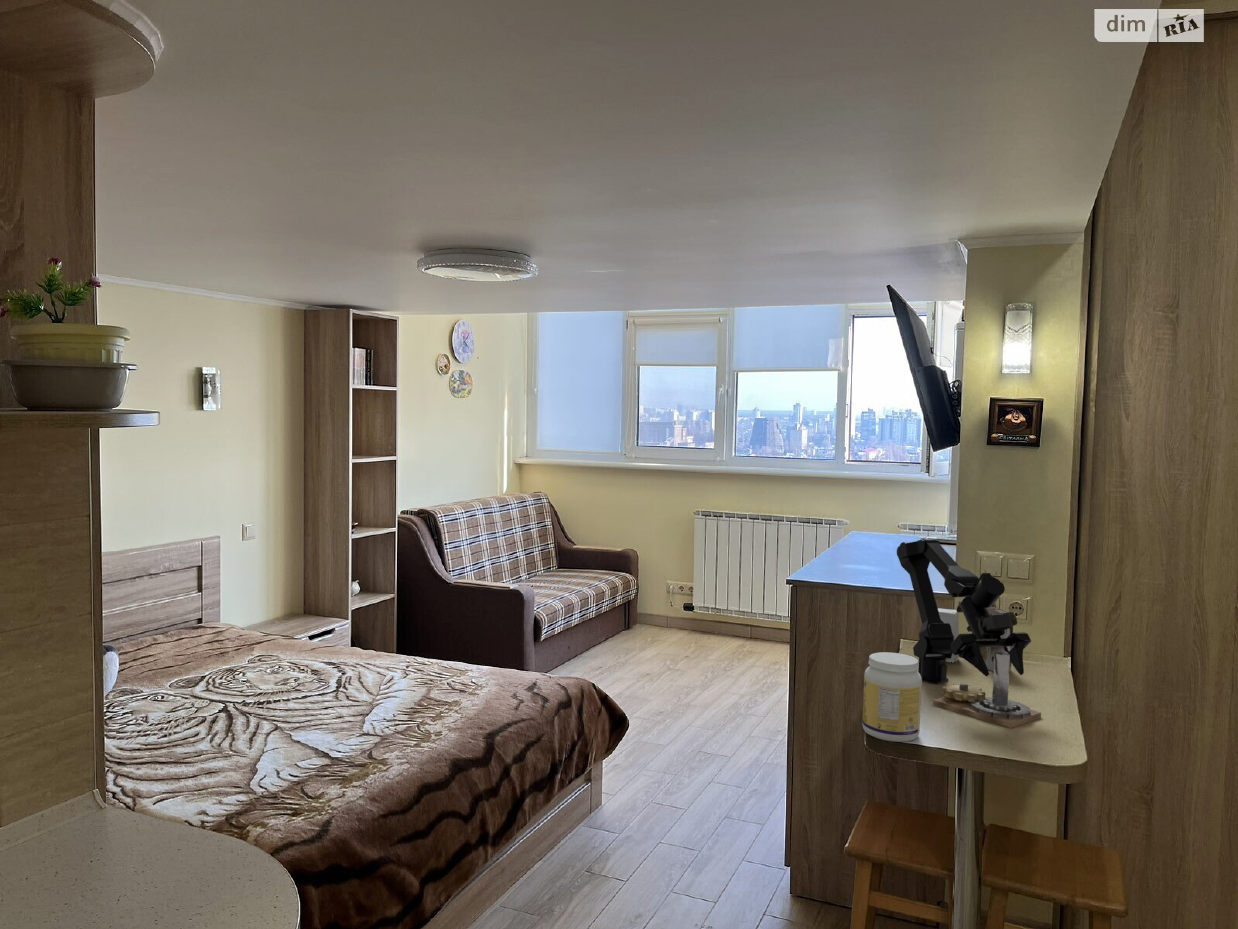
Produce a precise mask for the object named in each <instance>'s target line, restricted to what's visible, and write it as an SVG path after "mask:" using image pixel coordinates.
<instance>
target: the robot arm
mask: <svg viewBox="0 0 1238 929" xmlns="http://www.w3.org/2000/svg"><path fill="white" fill-rule="evenodd" d="M896 556H897V558H898V561H899V563H900V566H901V567H902V568H903V569H904V570H905V572H907V574H908V576H909V577H910V582H911V585H912V588H913V590H912V591H913V592H914V597H915V601H916V605H917V608H918V613H919V616H920V620H921V626H920V629H919V632H918V637H919V639H918V640H917V642H916V643H915V644H914V645H913V648H912V650H913V655H914V656H915V657H917V658H918V666H919V669H918V670H917V672H918V673H919V674H920V675H921V678H922V682H926V683H932V684H935V685H936V684H941V683H944V682H948V681H949V678H948V677H947V675H948V664H947V662H946V659H945V658H949V659H951V657H952V653H953V654H954V655H959V659H964V660H965V661H966V662H968V663H969V664H970V665H972V666H973V667H974V668H976V669H977V671H979V672H980V673H981V674H983V676H985V677H989V675H990V672H989V671H990V670H989V669H988V668H987V666H986V664H985V662H984V659H983V657H982V655H981V653H980V647H1003V648H1004V650H1005V651H1006V652H1008V654H1010V662H1011V665H1012V666H1013V667H1014V669H1015V670H1016V672H1017V673H1018V674H1019V675H1020V676H1023V675H1024V673H1025V671H1024V669H1025V668H1024V650H1025V648H1027V646H1029V644H1031V642H1032V638H1031V637H1030V635H1029V634H1028V633H1027V632H1025V631H1018V632H1017V631H1016V632H1015V631H1013V632H1012V633H1011V634H1010V635H1009V636H1008V637H1007V638H1001V635H1004V634H1005V631H1004V630H1006V629H1009V628H1010V629H1011V628H1013V629H1014V626H1017V624H1018V620H1017V616H1016V614H1015V613H1014V611H1006V612H1007V613H1004V614H1003V615H990V613H989V611H988V609H990V608H992V607H993V606H994V604H995V603H997V601H998V600H999V599H1000V597H1002V595H1003V594H1004V593H1005V591H1006V590H1005V588H1006V587H1005V585H1004V583H1003V582H1002V581H1001V580H999V579H998V578H996V577H994V576H992V574H991V572H982V573H981V574H980V576H979V577H978V576H977V575H976V574H974V573H973V572H972V571H970V570H969V569H966V568H963V567H961V566H960V565H959V564H958V563H957V561H955V560H954V559H953V557H952V556H951V555H950V554H949V553H948V552H947V550H946V549H945V548H943V546H942V544H941V542H940V540H938V539H936V538H921V539H919V540H915V541H909V542H908V541H904V542H902V541H901V543H900V544H899V546H897V548H896ZM930 563H931V564H932V566H933V567H934V568H935V569H936V571H937V572H938V573H939V574H940V575H941V576H942V578H943V579H944V583H943V585H944V587H945V589H946V591H947V592H948V594H949V595H950V596H951V597H952V598H962V600H961V601H958V605H957V606H956V609H955V610H956V611H957V612H959V613H963V616H964V618H965V621H966V622H967V624H968V626H966V630H967V632H968V633H959V635H958V636H957V637H956V639H955V640H954V636H953V633H952V630H951V626H950V624H949V623H944V622H943V621H942V620H941V618H940V615H939V611H938V608H939V607H938V604H937V601H936V597H935V592H934V590H933V586H932V582H931V578H930V576H929V575H930V574H929V572H928V571H929V570H928V569H929V566H930ZM969 632H970V633H969Z"/></svg>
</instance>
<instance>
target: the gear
mask: <svg viewBox="0 0 1238 929" xmlns="http://www.w3.org/2000/svg"><path fill="white" fill-rule="evenodd" d="M1009 664H1010V654H1008V653H1004V652H995V653H994V670H993V676H992V697H991V698H992V699H987V701H986V700H984V701H983V707H985V708H988V709H991V710H995V711H1002V712H1016V710H1017V706H1016V704H1014V703H1010V702H1009V701H1008V700H1009V686H1010V684H1009V682H1010V671H1009Z"/></svg>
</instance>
